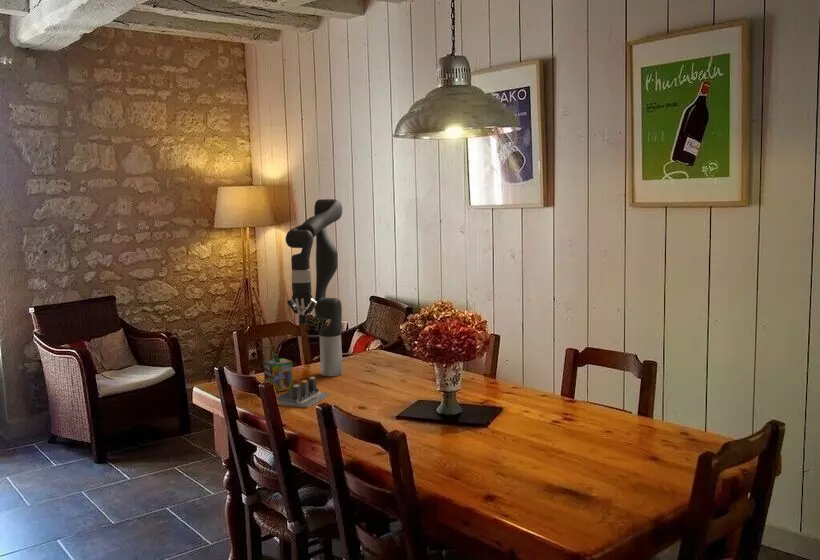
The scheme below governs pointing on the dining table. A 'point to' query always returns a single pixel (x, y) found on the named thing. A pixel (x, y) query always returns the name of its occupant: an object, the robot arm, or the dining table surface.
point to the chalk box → (279, 373)
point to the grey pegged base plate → (297, 399)
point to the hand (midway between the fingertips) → (303, 324)
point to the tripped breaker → (304, 388)
